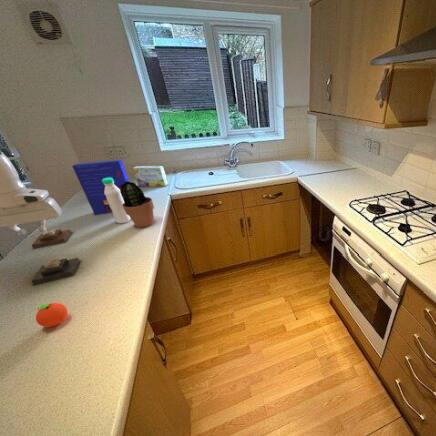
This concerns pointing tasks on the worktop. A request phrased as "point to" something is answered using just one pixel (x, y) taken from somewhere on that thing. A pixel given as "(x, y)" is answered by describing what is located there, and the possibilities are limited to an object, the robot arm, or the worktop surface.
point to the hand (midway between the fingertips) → (33, 232)
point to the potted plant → (137, 205)
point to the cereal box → (99, 181)
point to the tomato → (51, 314)
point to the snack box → (150, 175)
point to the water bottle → (115, 200)
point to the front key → (53, 263)
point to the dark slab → (56, 271)
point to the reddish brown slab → (52, 239)
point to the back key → (49, 232)
